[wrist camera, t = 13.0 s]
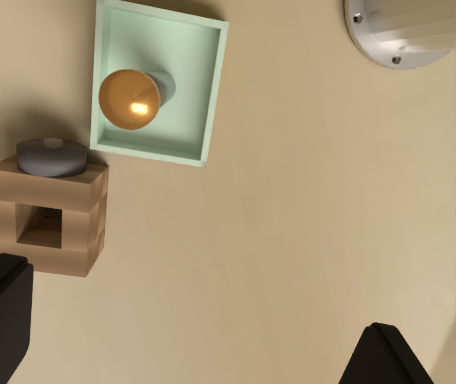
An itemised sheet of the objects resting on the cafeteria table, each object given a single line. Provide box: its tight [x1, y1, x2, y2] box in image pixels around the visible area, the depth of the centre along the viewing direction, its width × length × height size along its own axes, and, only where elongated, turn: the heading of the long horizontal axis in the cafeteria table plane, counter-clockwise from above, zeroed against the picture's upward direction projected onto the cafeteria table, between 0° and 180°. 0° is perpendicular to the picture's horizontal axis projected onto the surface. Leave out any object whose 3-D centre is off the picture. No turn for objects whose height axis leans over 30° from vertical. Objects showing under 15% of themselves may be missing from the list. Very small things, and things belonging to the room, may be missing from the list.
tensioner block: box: [0, 138, 109, 277], centre depth 35 cm, size 13×9×6 cm
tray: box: [90, 0, 229, 168], centre depth 33 cm, size 13×11×3 cm
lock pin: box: [98, 69, 176, 130], centre depth 28 cm, size 4×4×14 cm
